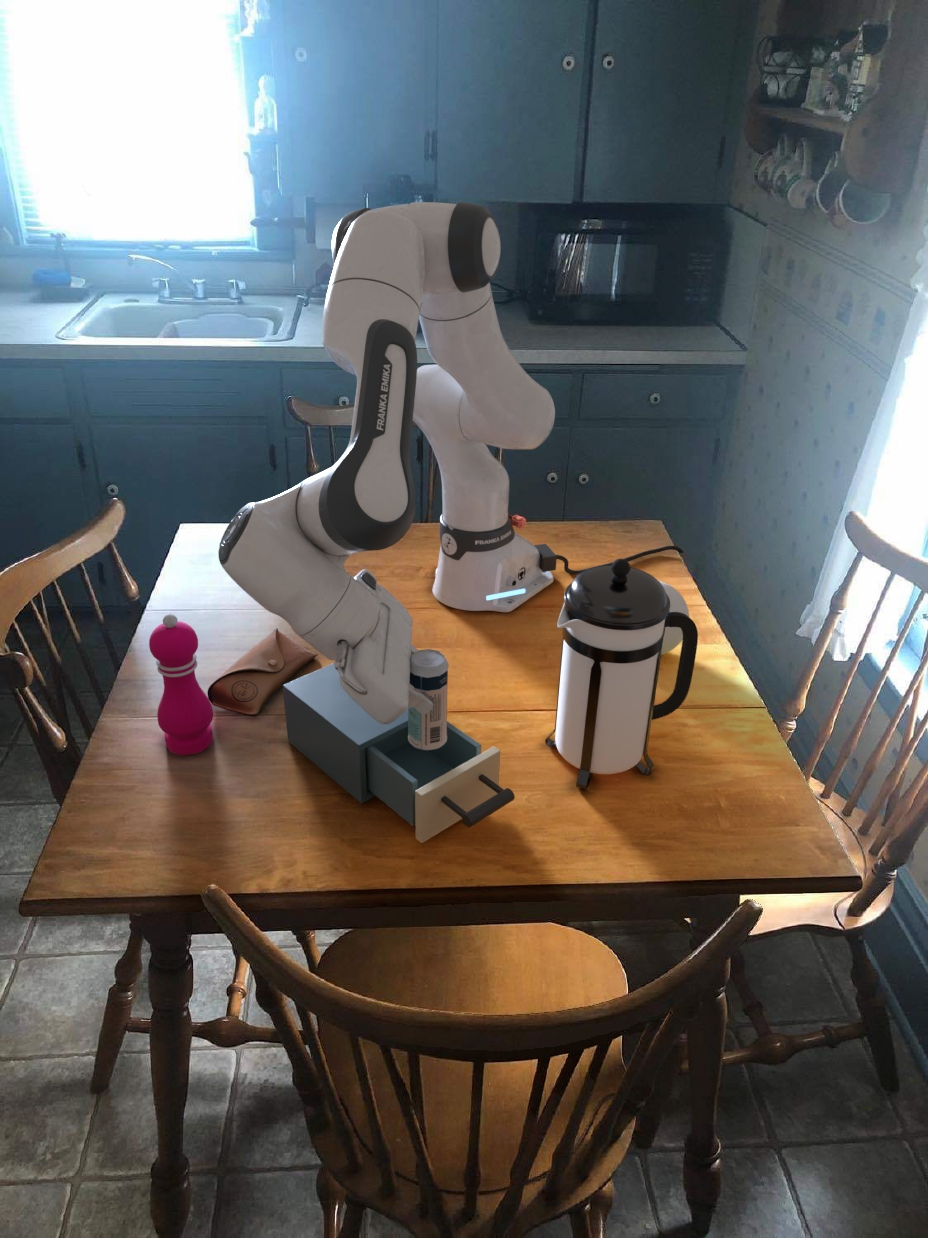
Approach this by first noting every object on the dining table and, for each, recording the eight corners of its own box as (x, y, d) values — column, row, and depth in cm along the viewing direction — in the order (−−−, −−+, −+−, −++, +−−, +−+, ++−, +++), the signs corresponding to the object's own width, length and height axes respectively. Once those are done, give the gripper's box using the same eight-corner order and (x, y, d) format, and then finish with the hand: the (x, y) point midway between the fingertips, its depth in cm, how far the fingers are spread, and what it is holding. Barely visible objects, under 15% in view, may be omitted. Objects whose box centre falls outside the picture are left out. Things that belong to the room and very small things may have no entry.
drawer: (529, 819, 116) (532, 772, 112) (452, 869, 108) (452, 820, 105) (419, 738, 129) (418, 694, 125) (343, 778, 122) (341, 732, 118)
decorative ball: (608, 627, 157) (615, 563, 151) (681, 634, 155) (692, 570, 149) (606, 667, 147) (614, 600, 141) (685, 674, 145) (696, 607, 139)
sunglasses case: (258, 715, 133) (233, 676, 131) (224, 725, 137) (199, 687, 135) (321, 652, 148) (299, 616, 146) (289, 663, 151) (267, 628, 150)
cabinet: (444, 758, 127) (445, 701, 122) (361, 804, 119) (358, 745, 114) (368, 702, 137) (366, 648, 133) (287, 741, 129) (282, 685, 125)
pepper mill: (167, 726, 132) (145, 601, 122) (220, 724, 132) (202, 599, 122) (157, 759, 126) (133, 630, 115) (213, 757, 126) (193, 629, 116)
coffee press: (638, 812, 118) (670, 604, 103) (524, 770, 125) (538, 569, 110) (682, 739, 132) (716, 544, 116) (576, 704, 138) (595, 516, 123)
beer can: (452, 734, 116) (454, 651, 110) (439, 757, 112) (440, 673, 106) (416, 725, 118) (416, 643, 112) (401, 748, 114) (400, 664, 108)
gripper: (354, 654, 96) (449, 731, 101) (368, 561, 114) (448, 631, 119) (313, 690, 98) (408, 763, 104) (332, 593, 116) (413, 661, 121)
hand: (429, 692), depth 111 cm, fingers closed on beer can, 5 cm apart
